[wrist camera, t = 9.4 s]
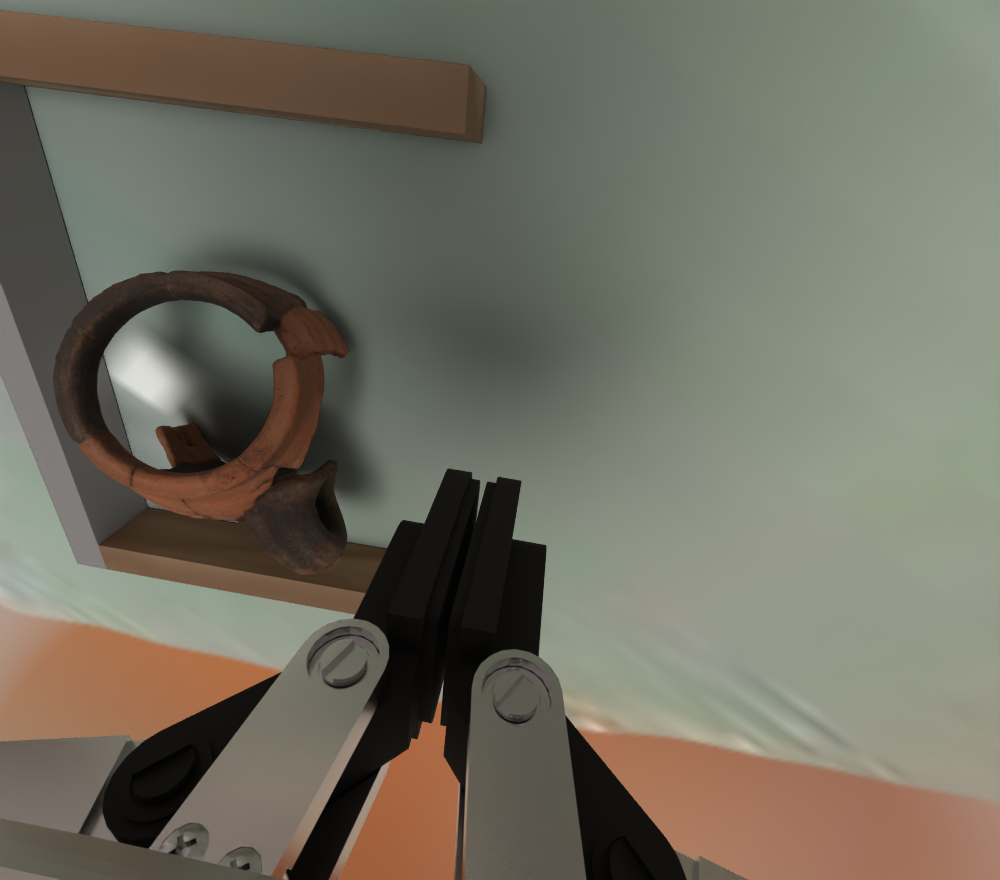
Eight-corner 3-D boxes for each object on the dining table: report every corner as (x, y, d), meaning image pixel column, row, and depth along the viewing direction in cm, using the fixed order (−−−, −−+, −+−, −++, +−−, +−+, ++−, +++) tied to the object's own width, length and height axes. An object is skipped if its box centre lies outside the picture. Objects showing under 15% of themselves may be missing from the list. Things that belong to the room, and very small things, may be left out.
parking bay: (-35, 24, 16) (-155, -9, 13) (486, 86, 15) (469, 65, 12) (127, 525, 26) (77, 563, 23) (446, 581, 25) (431, 628, 22)
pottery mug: (134, 390, 22) (-54, 359, 14) (300, 272, 23) (212, 178, 15) (295, 591, 23) (203, 673, 15) (452, 470, 24) (449, 484, 15)
